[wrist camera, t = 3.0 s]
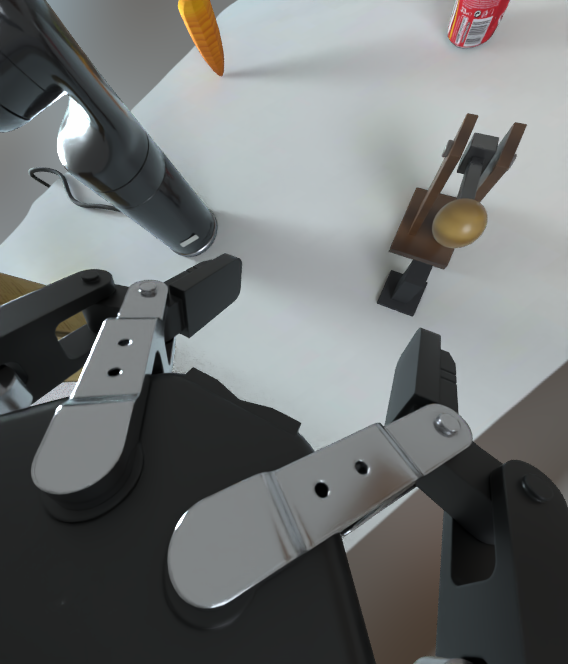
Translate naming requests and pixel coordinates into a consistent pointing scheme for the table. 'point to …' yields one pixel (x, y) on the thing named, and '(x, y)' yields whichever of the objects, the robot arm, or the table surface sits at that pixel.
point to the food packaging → (11, 288)
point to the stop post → (405, 288)
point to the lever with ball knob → (466, 197)
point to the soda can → (475, 21)
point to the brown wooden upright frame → (425, 204)
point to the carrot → (204, 31)
